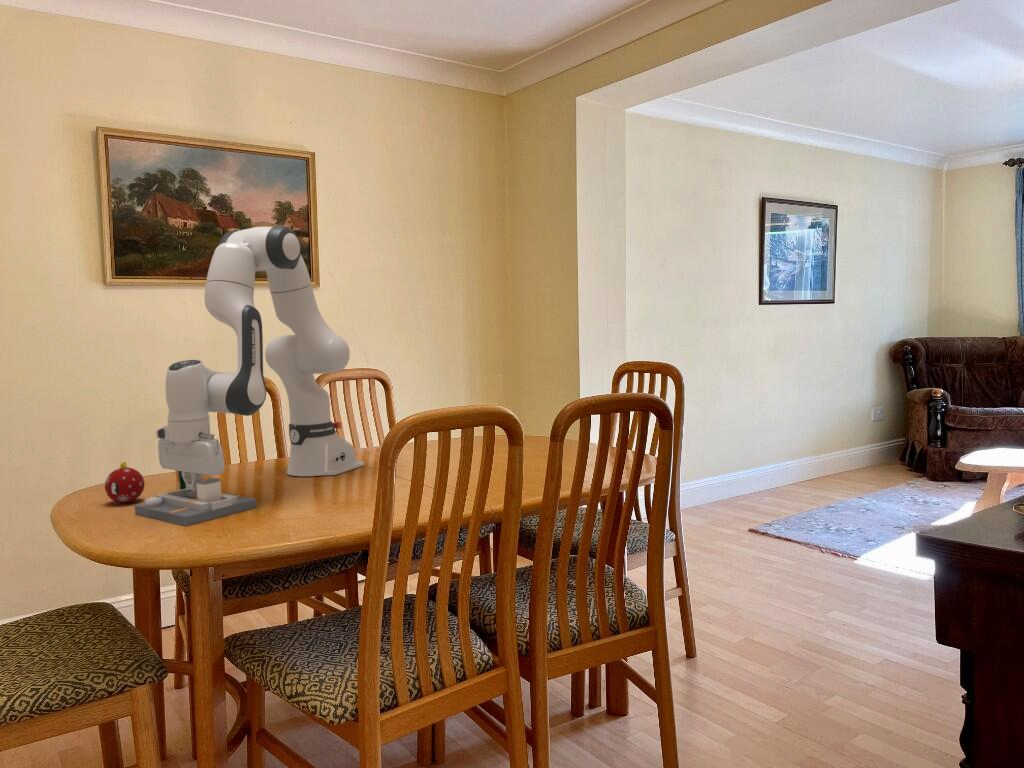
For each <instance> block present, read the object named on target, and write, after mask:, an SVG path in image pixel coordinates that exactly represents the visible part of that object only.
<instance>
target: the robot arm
mask: <svg viewBox="0 0 1024 768" xmlns="http://www.w3.org/2000/svg"><path fill="white" fill-rule="evenodd" d="M211 257H212V258H211V261H210V264H209V266H208V267H209V268H208V271H207V274H206V275H207V276H206V281H205V282H206V283H205V289H204V294H203V295H204V306H205V307H206V309H207V312H208V313H209V314H210V315H211V316H212V317H213V318H214V319H215V320H217V321H219V322H220V323H222V324H224V325H227V326H229V327H230V328H231V329H233V331H234V332H235V334H236V338H237V369H236V370H235V372H221V371H219V372H218V371H217V370H213V369H211V368H209V367H207V366H206V365H205V364H204V363H203V361H201V360H199V359H187V360H181V361H176V362H173V363H172V364H170V365H169V366H168V368H167V371H166V375H165V386H164V387H165V402H166V404H167V407H168V415H167V424H166V425H164V426H162V427H160V428H158V429H156V431H155V435H156V438H157V439H158V442H157V450H158V451H157V453H158V461H159V464H160V466H161V468H162V469H167V470H172V471H177V472H178V471H182V477H183V479H184V481H185V483H186V490H188V491H193V492H197V482H196V481H198V480H202V479H203V477H204V476H209V477H214V476H218V475H221V474H223V473H224V472H225V470H226V467H225V465H226V464H225V460H224V459H225V458H224V452H223V448H222V445H221V443H220V441H219V438H217V437H216V435H215V434H214V433H211V423H210V421H211V420H210V414H209V413H219V414H234V415H239V416H246V417H247V416H253V415H255V414H256V413H257V412H258V411H259V410H260V409H261V408H262V406H263V405H264V403H265V401H266V397H267V387H266V382H265V376H264V357H265V361H266V363H267V365H268V367H269V368H270V369H271V370H272V371H274V373H276V374H277V376H278V377H279V378H280V380H281V382H282V384H283V386H284V389H285V392H286V394H287V399H288V408H289V409H288V410H289V424H288V436H289V440H290V448H289V449H290V450H289V461H288V466H287V470H286V474H287V475H288V476H292V477H316V476H318V477H319V476H336V475H340V474H342V473H346V472H348V471H351V470H354V469H357V468H360V467H363V466H365V461H363V460H359V459H356V451H355V448H354V447H355V446H353V444H351V443H350V442H348V441H347V440H346V439H344V438H343V437H342V436H340V435H339V434H338V433H337V431H336V429H338V430H340V429H342V428H343V423H342V421H334V422H333V421H332V420H331V405H330V404H331V403H330V401H331V400H330V395H329V393H328V391H326V389H324V388H323V387H321V386H320V385H319V384H318V382H317V381H316V378H315V376H314V374H318V375H319V374H321V375H323V374H326V375H327V374H332V373H336V372H340V371H343V370H345V368H347V365H348V363H349V361H350V358H351V357H350V356H351V353H350V347H349V345H348V343H347V341H346V340H345V339H344V338H343V337H342V336H340V335H338V334H337V333H336V332H334V330H332V329H331V327H330V326H329V325H328V323H327V322H326V321H325V319H324V317H323V316H322V314H321V313H320V310H319V308H318V304H317V301H316V297H315V294H314V290H313V289H314V288H313V285H312V281H311V277H310V273H309V271H308V267H307V265H306V263H305V260H304V258H303V256H302V245H301V241H300V238H299V236H298V235H297V233H296V232H295V231H294V230H293V229H291V228H290V227H286V226H283V225H275V226H254V227H250V228H244V229H235V230H232V231H229V232H227V233H225V234H224V235H223V236H222V237H221V239H220V240H219V243H218V246H217V247H216V248H215V249H214V251H213V255H212V256H211ZM256 272H265V273H266V277H267V282H268V283H267V284H268V288H269V291H270V295H271V299H272V300H271V301H272V304H273V308H274V313H275V315H276V318H277V320H278V321H279V322H281V323H282V324H283V325H285V326H287V327H288V328H289V329H290V330H291V331H292V332H293V334H286V335H285V334H284V335H281V336H277V337H275V338H272V339H270V340H269V341H268V343H267V345H266V347H265V350H264V345H263V342H264V341H263V340H264V339H263V321H262V317H261V313H260V311H259V310H258V309H257V308H256V307H255V302H254V295H255V294H254V291H255V285H256V283H255V281H256ZM264 354H265V355H264Z"/></svg>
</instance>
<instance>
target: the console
mask: <svg viewBox="0 0 1024 768" xmlns="http://www.w3.org/2000/svg"><path fill="white" fill-rule="evenodd" d="M257 500H258V499H257V498H254V497H249V496H245V495H243V496H242V495H239V494H232V493H227V492H223V491H221V500H219V501H215V502H211V503H208V502H203V501H198V498H197V492H193V491H188V490H186V489H182V490H179V489H177V490H174V491H170V492H169V491H168V492H164V493H160V494H155V496H153V497H152V496H151V497H148V498H145V499H144V503H140V504H139V503H138V504H136V505H134V514H135V515H136V516H137V515H138V516H141V517H146V518H149V519H150V518H151V519H154V520H159V521H163V522H167V523H172V524H175V525H180V526H184V527H188V526H191V525H197V524H200V523H204V522H206V521H208V522H209V521H211V520H215V519H218V518H223V517H226V516H230V515H234V514H237V513H241V512H245V511H249V510H252V509H256V508H258V501H257Z"/></svg>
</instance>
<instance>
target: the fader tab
mask: <svg viewBox="0 0 1024 768" xmlns="http://www.w3.org/2000/svg"><path fill="white" fill-rule="evenodd" d="M196 482H197V498H198V501H203V502H208V503H211V502H215V501H219V500H221V492H222V487H221V484H222V483H221V478H219V477H214V476H211V477H208V478H204V479H203V478H202V480H198V481H196Z"/></svg>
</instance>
